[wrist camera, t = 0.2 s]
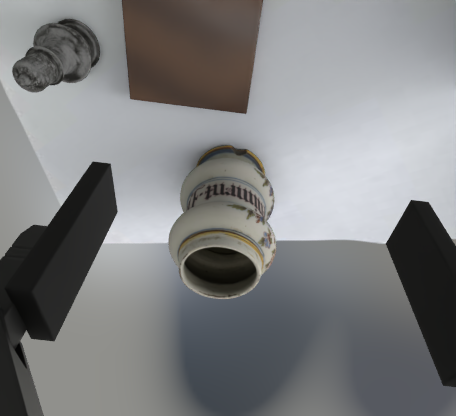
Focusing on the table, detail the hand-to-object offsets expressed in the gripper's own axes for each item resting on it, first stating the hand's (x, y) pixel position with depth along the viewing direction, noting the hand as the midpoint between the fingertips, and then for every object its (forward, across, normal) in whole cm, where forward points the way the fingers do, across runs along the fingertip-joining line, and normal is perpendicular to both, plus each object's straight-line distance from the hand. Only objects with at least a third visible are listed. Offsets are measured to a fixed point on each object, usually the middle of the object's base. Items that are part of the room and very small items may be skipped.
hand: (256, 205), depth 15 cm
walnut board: (+28, -7, +2) cm, 29 cm away
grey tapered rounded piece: (+28, -20, -3) cm, 35 cm away
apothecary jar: (+28, -1, -18) cm, 33 cm away
